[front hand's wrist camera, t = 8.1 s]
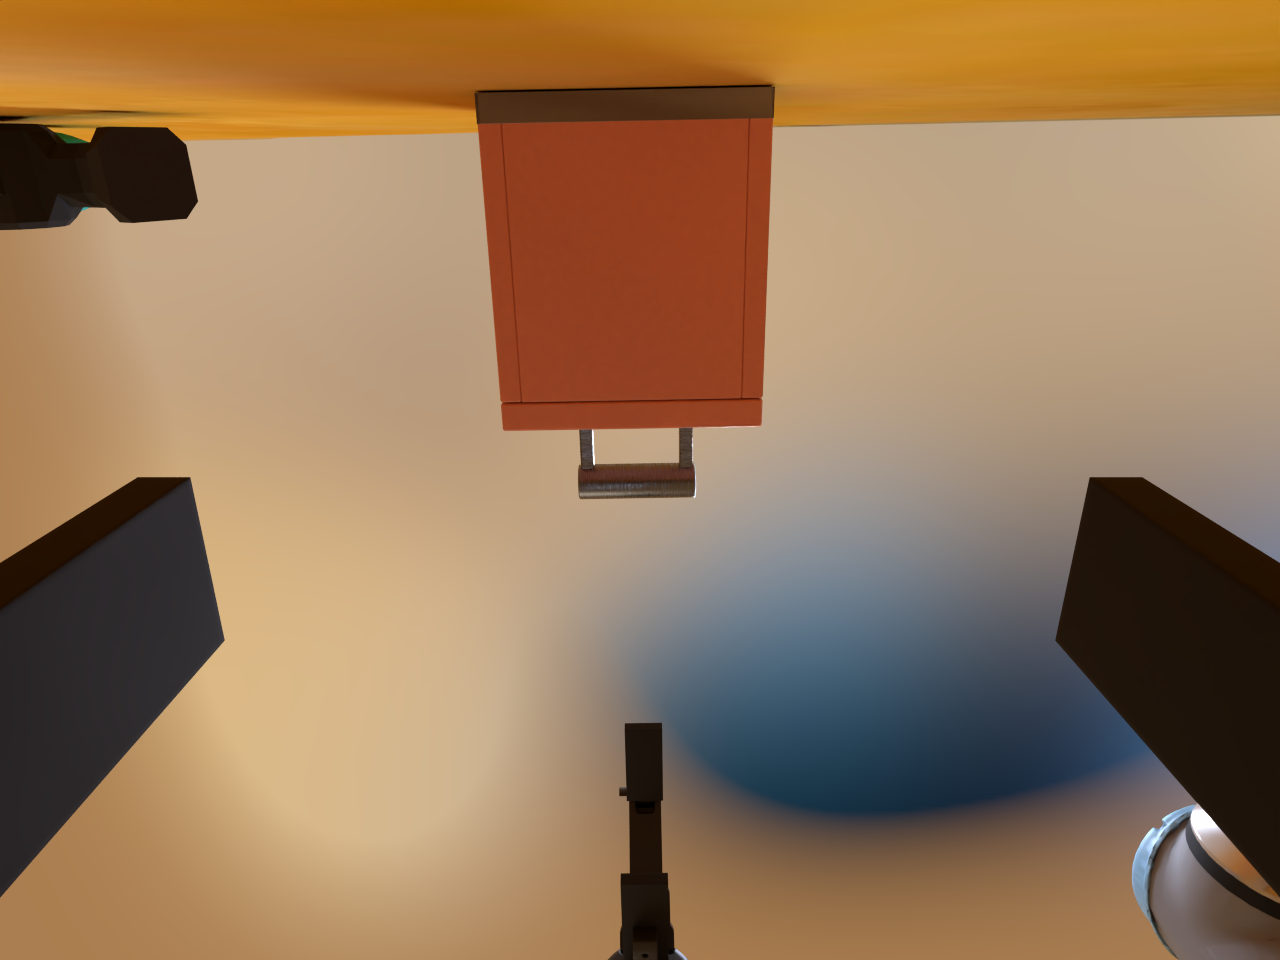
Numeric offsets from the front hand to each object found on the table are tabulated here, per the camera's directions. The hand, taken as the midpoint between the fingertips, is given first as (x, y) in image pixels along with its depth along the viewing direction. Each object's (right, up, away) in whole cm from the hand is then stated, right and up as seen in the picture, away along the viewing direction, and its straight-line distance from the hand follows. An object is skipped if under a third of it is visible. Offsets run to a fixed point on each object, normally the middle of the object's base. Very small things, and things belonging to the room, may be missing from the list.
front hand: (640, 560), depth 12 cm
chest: (0, +17, +21) cm, 27 cm away
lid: (0, +7, +25) cm, 26 cm away
